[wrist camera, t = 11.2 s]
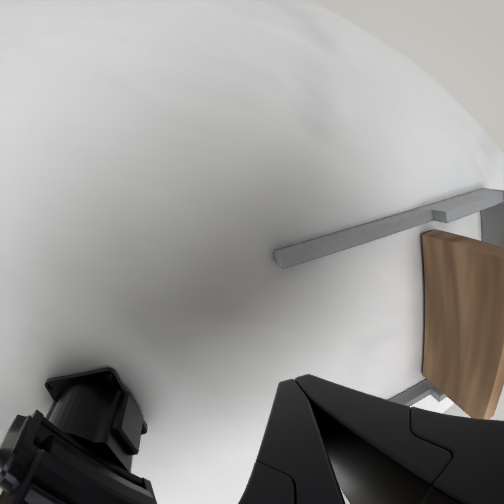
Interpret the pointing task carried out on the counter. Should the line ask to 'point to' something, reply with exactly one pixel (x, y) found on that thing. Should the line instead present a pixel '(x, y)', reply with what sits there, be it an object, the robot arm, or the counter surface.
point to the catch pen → (485, 200)
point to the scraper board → (464, 320)
